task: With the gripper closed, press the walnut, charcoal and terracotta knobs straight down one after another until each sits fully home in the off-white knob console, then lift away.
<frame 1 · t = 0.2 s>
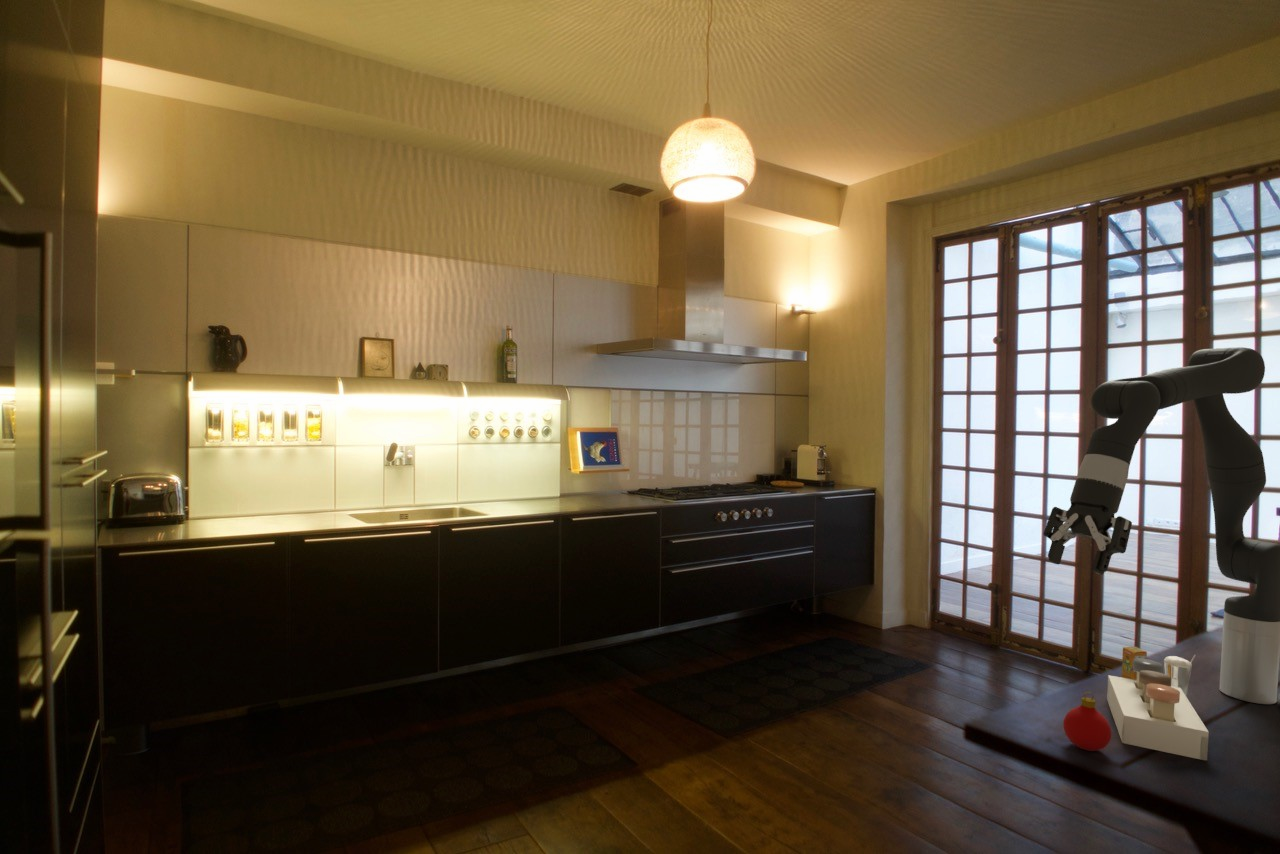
hand: (1074, 567, 127), 31 cm above the table, tool tilted 20°, fingers open, 8 cm apart
supplement box: (1132, 696, 147), on the table
walnut knob: (1154, 691, 132), point 7 cm above the table, slide at 0.0 cm
charcoal knob: (1147, 678, 138), point 7 cm above the table, slide at 0.0 cm
milkshake: (1177, 702, 145), on the table
terracotta knob: (1161, 706, 125), point 7 cm above the table, slide at 0.0 cm
knob console: (1152, 727, 132), on the table
christmas ornament: (1085, 749, 123), on the table
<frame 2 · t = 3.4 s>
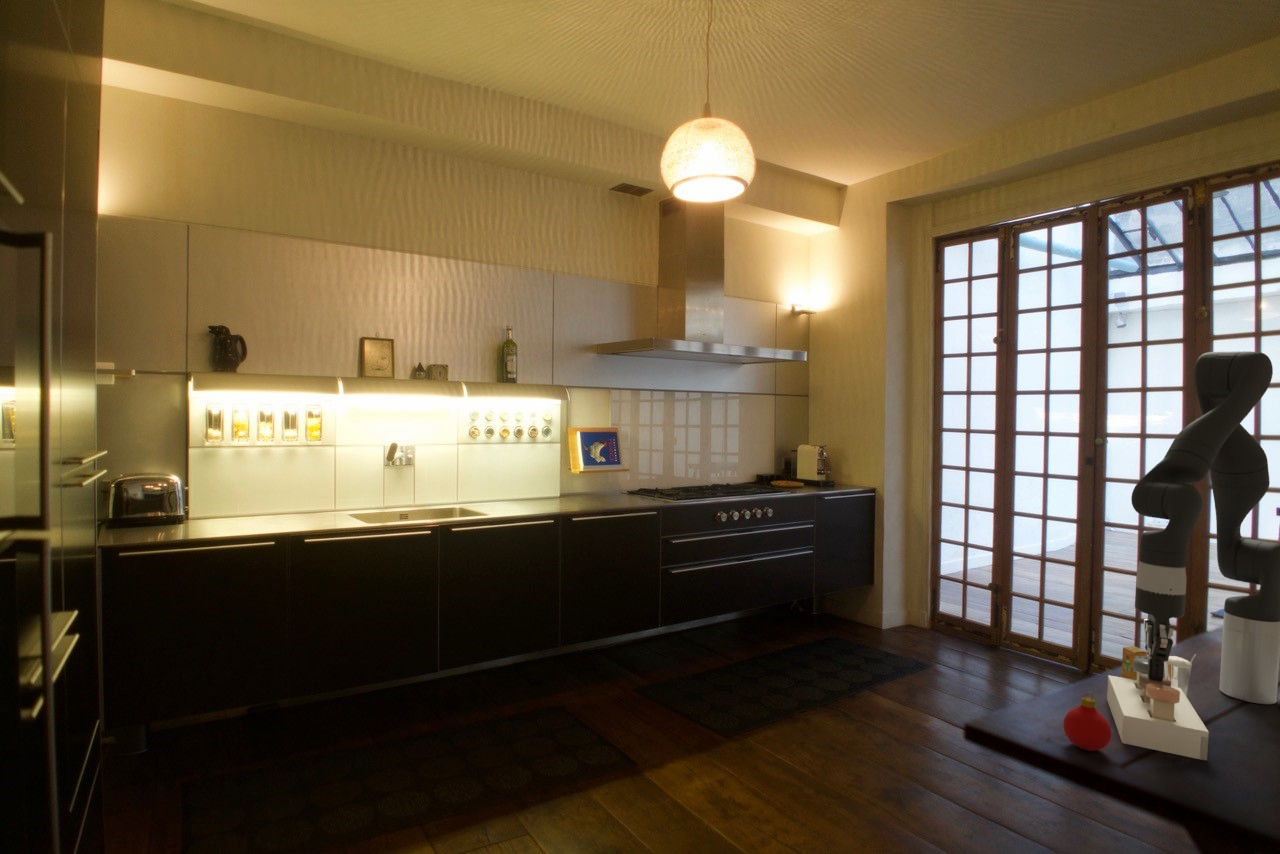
hand: (1154, 679, 132), 9 cm above the table, tool pointing down, fingers closed
walnut knob: (1153, 695, 132), point 6 cm above the table, slide at 0.7 cm, touching gripper
everything else where it was.
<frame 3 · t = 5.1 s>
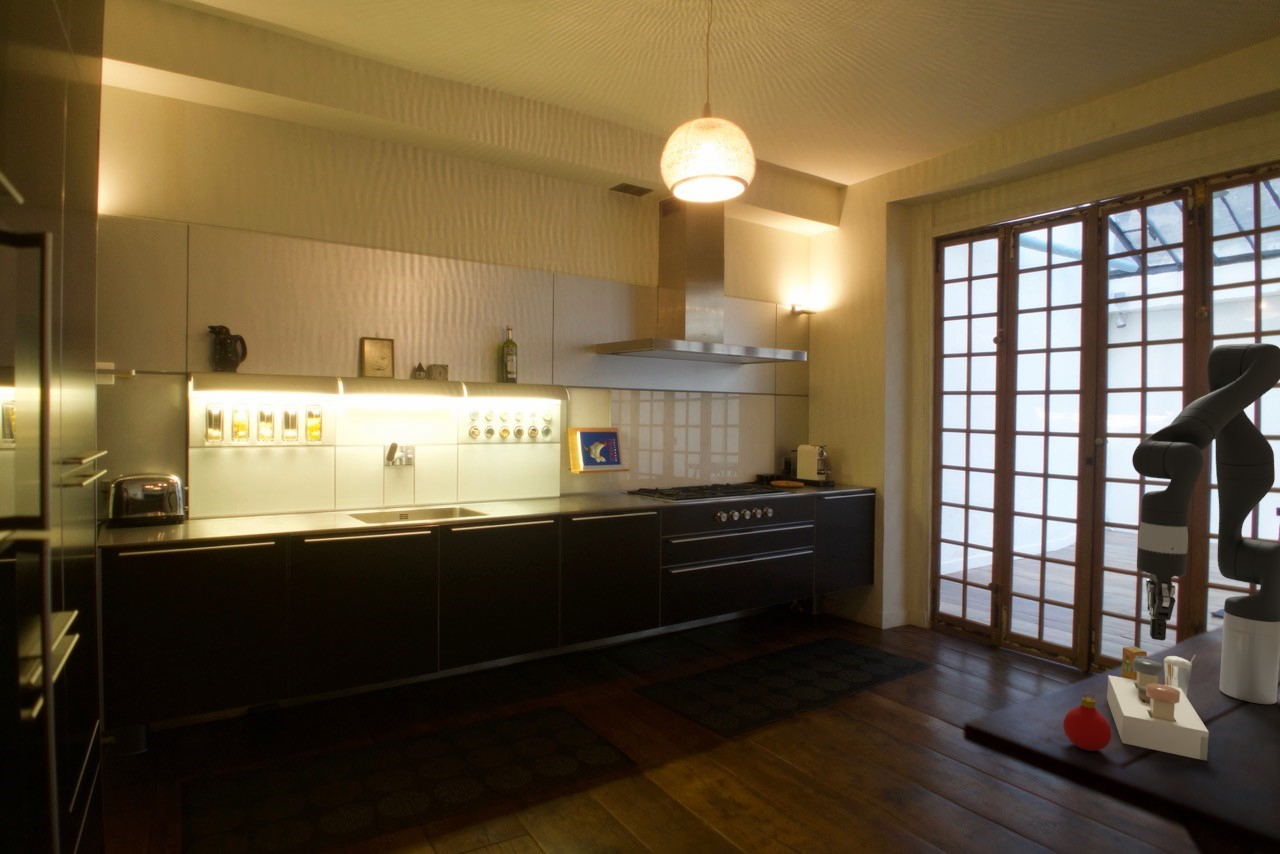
hand: (1157, 638, 132), 17 cm above the table, tool pointing down, fingers closed
walnut knob: (1153, 707, 132), point 4 cm above the table, slide at 3.0 cm
everything else where it was.
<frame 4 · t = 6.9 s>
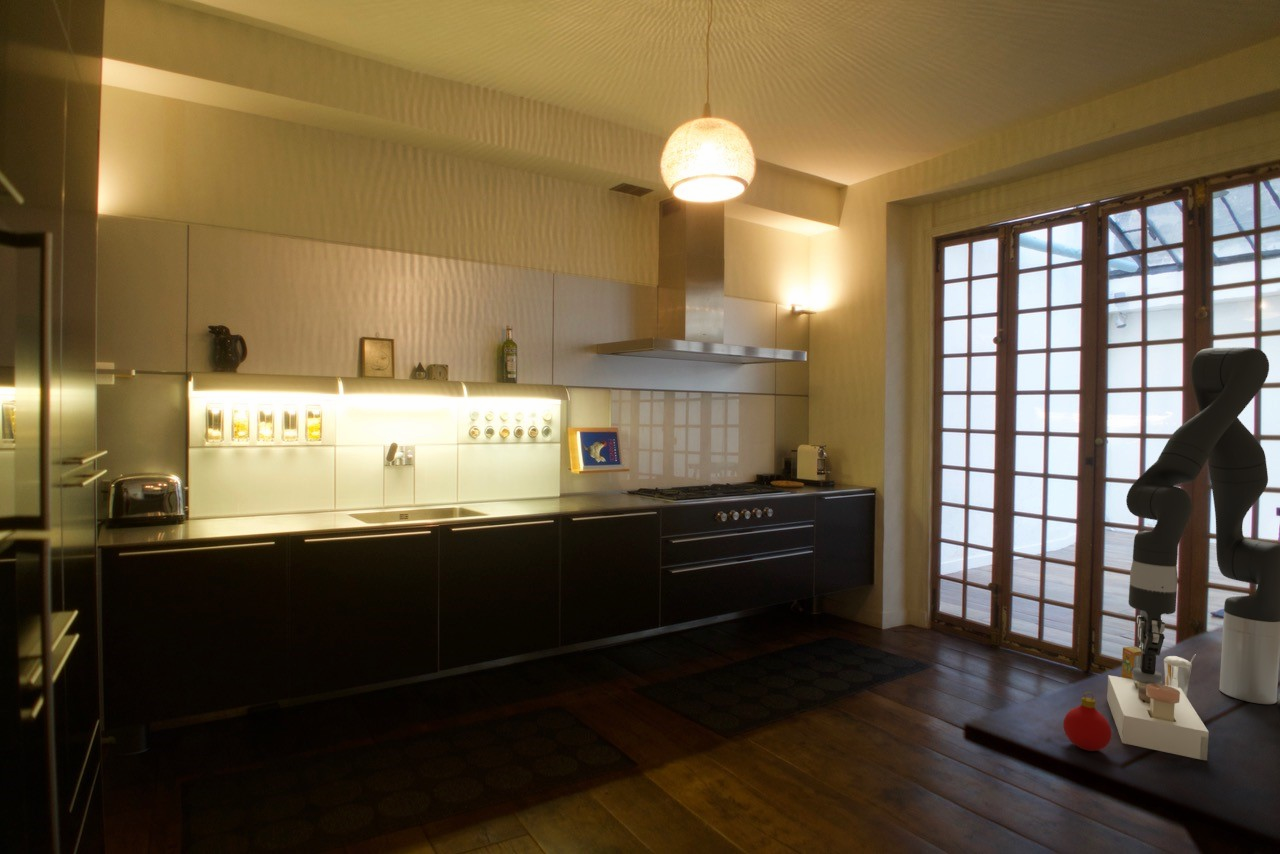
hand: (1147, 672, 138), 8 cm above the table, tool pointing down, fingers closed
charcoal knob: (1146, 688, 139), point 5 cm above the table, slide at 1.9 cm, touching gripper
everything else where it was.
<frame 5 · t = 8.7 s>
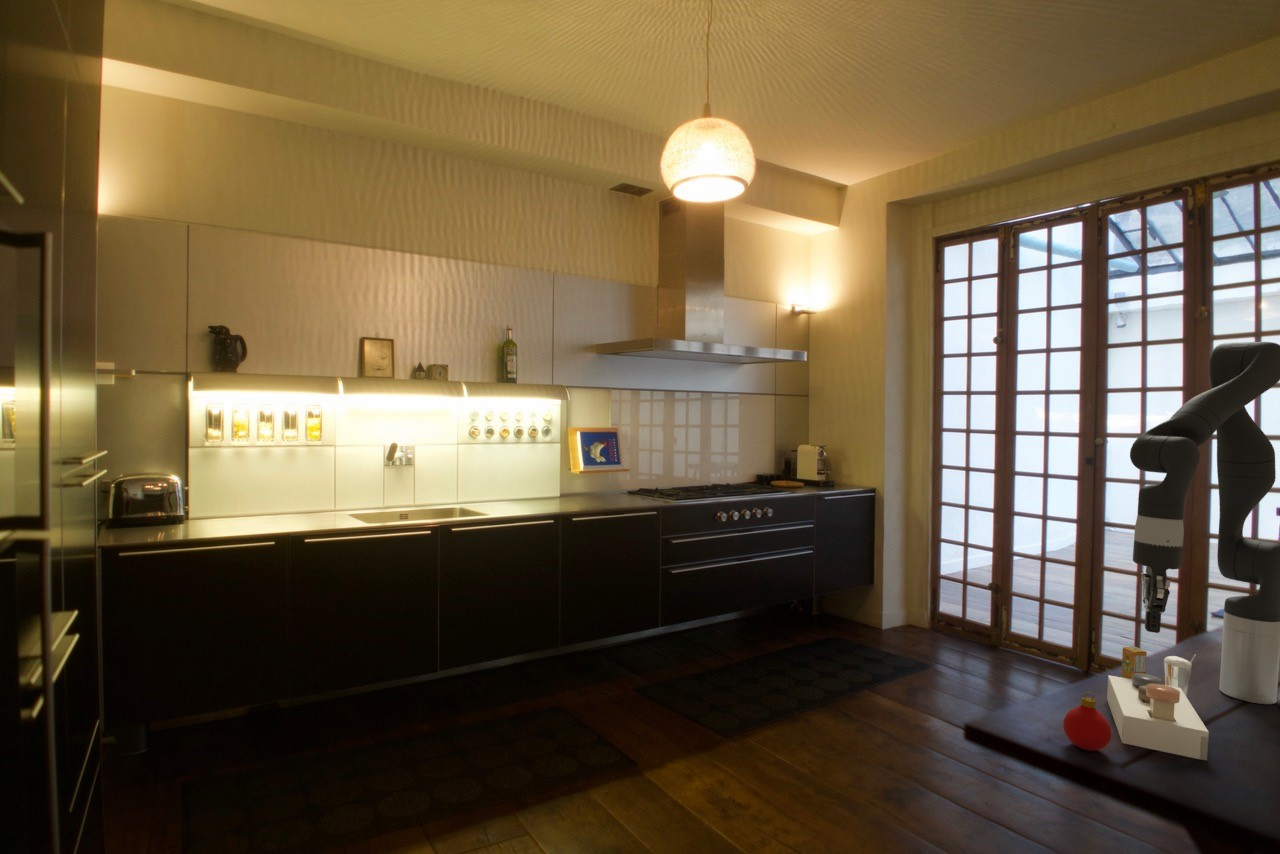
hand: (1152, 631, 134), 18 cm above the table, tool pointing down, fingers closed
charcoal knob: (1146, 693, 139), point 4 cm above the table, slide at 3.0 cm
everything else where it was.
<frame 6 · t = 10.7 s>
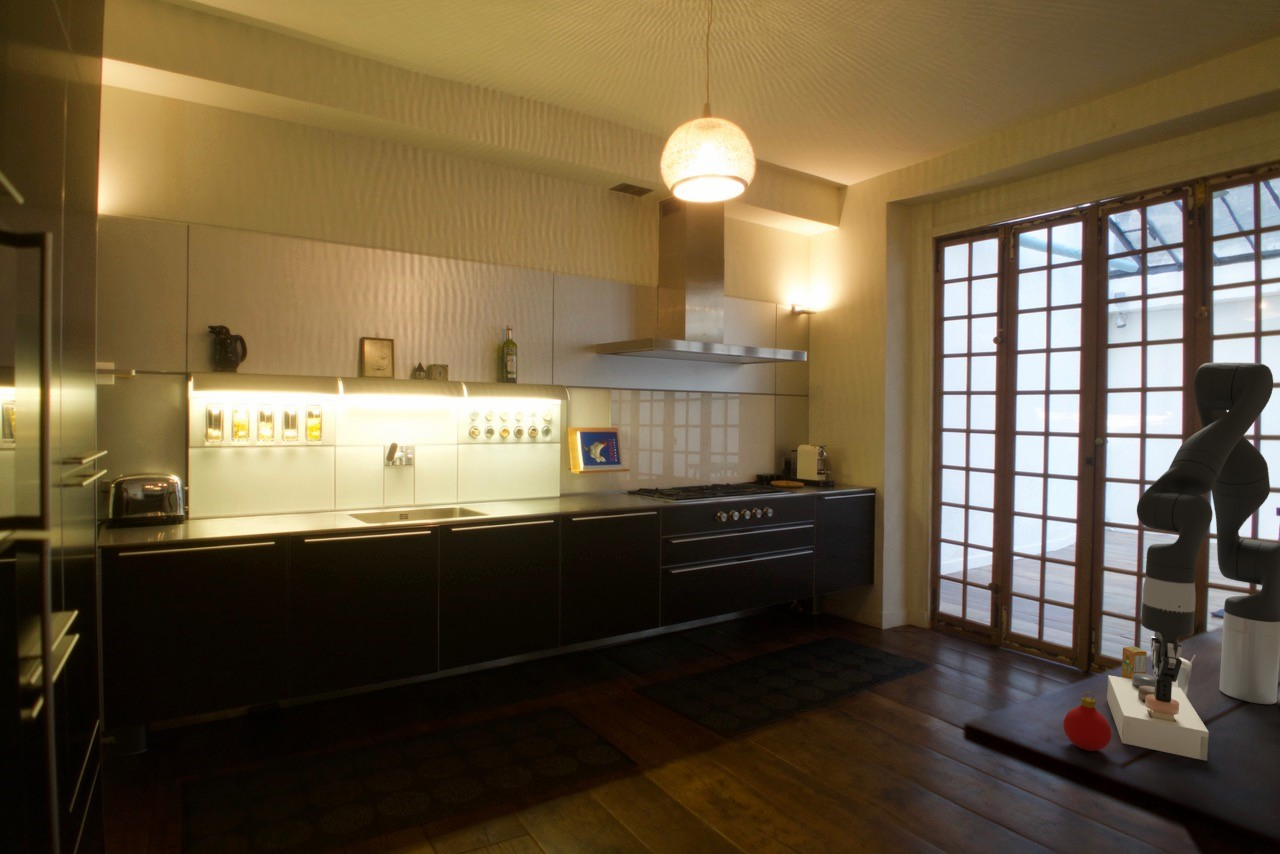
hand: (1162, 700, 125), 8 cm above the table, tool pointing down, fingers closed
terracotta knob: (1161, 717, 125), point 5 cm above the table, slide at 2.0 cm, touching gripper
everything else where it was.
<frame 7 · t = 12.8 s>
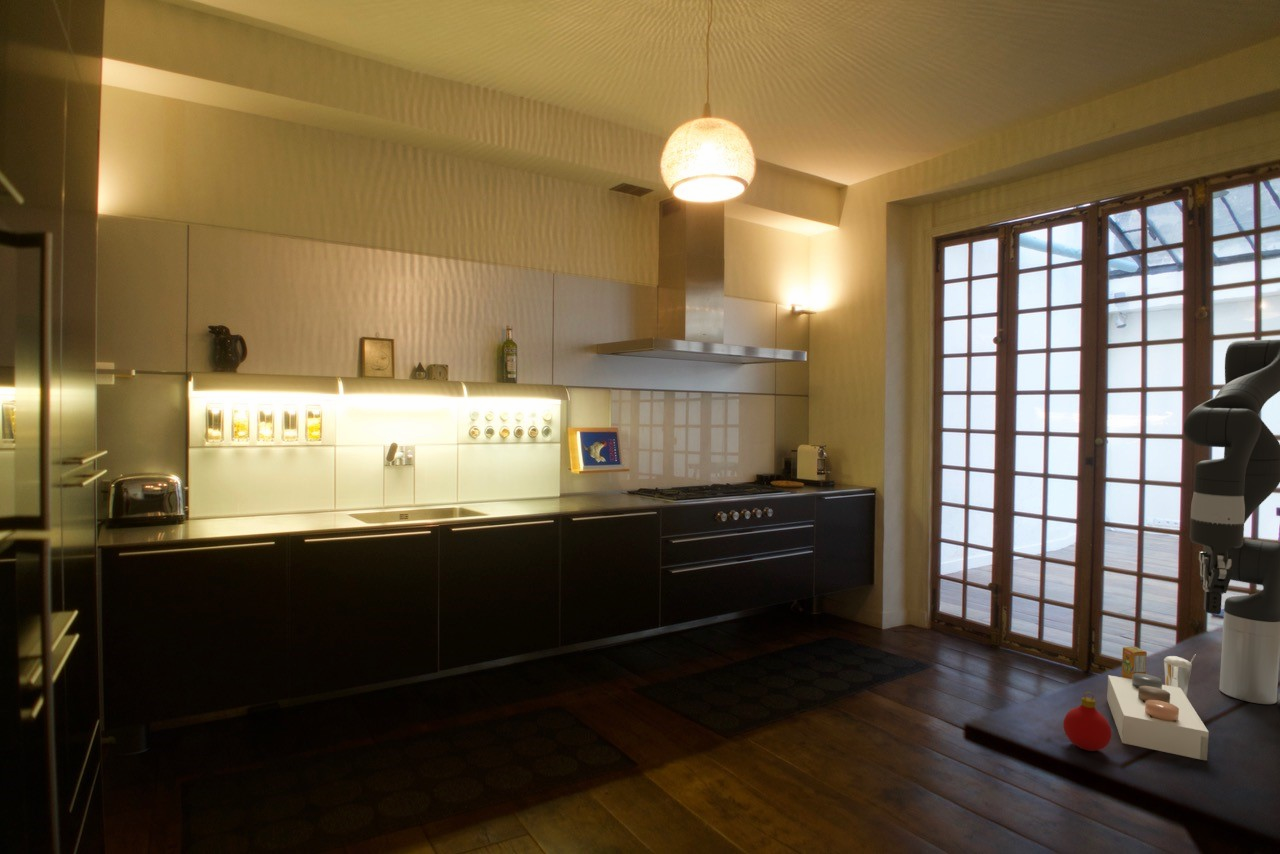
hand: (1212, 612, 128), 23 cm above the table, tool pointing down, fingers closed
terracotta knob: (1161, 723, 125), point 4 cm above the table, slide at 3.0 cm
everything else where it was.
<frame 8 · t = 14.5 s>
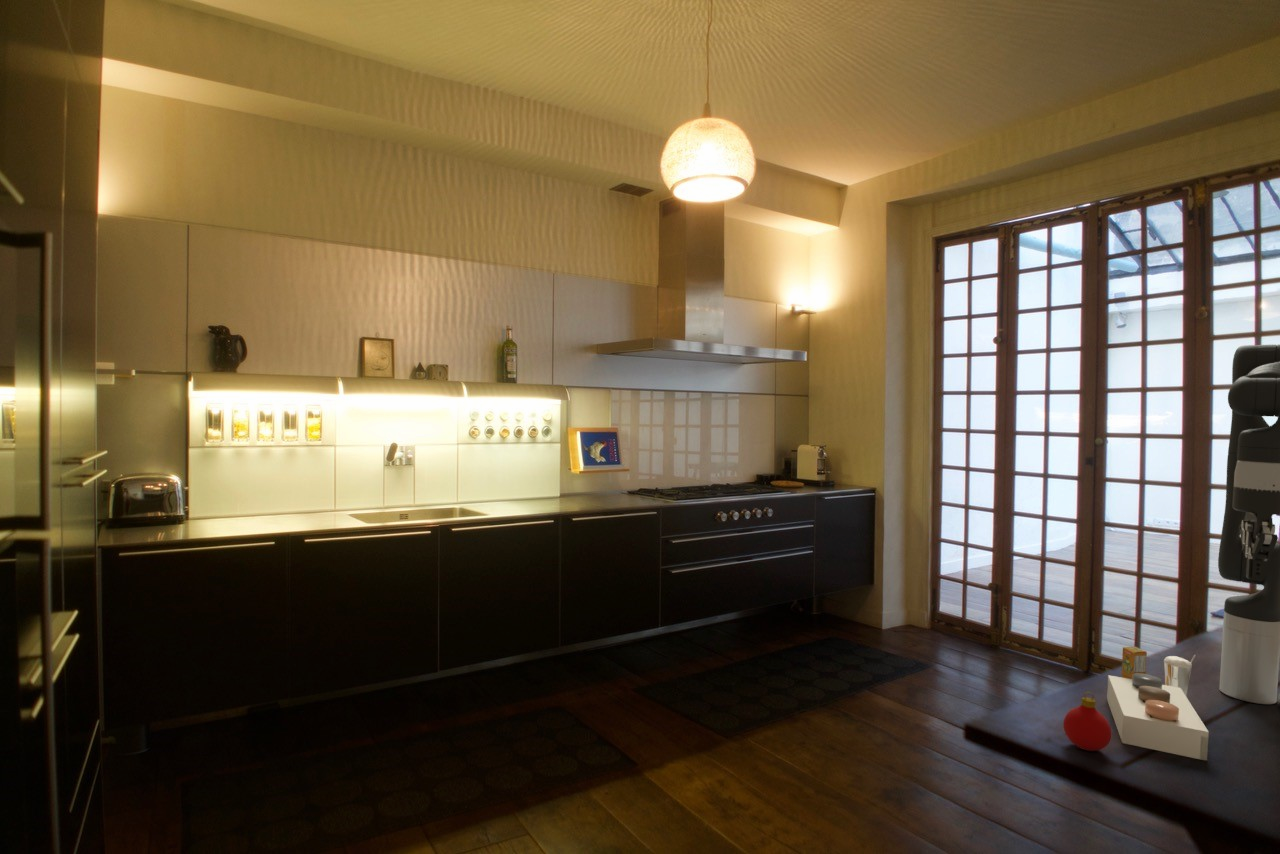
hand: (1254, 579, 129), 29 cm above the table, tool pointing down, fingers closed
nothing on the table moved.
at the end: walnut knob slide at 3.0 cm; charcoal knob slide at 3.0 cm; terracotta knob slide at 3.0 cm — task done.
